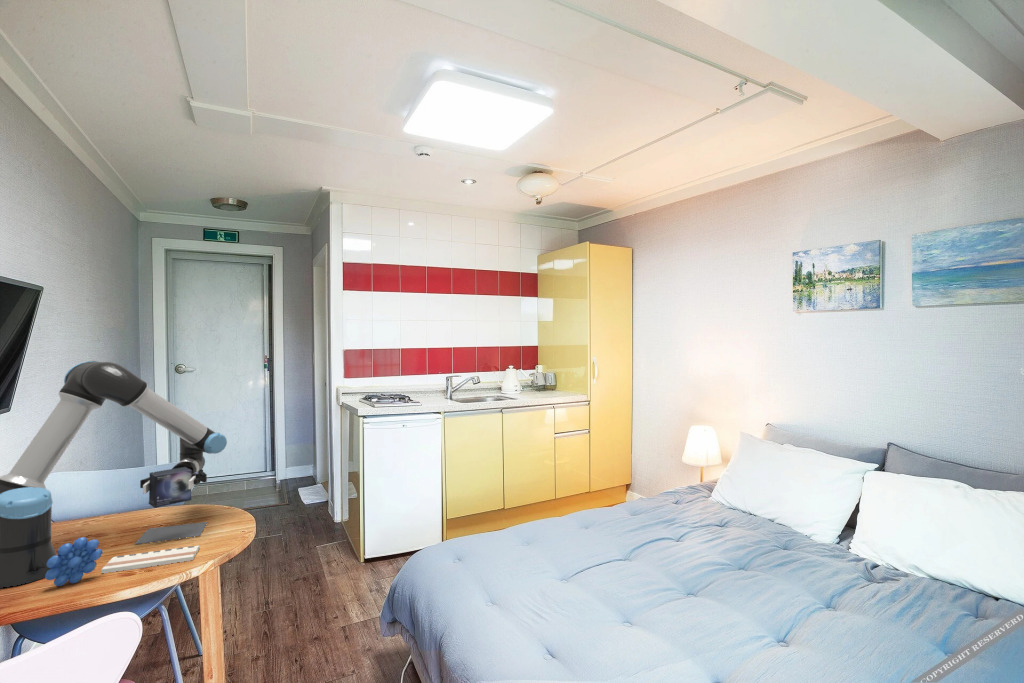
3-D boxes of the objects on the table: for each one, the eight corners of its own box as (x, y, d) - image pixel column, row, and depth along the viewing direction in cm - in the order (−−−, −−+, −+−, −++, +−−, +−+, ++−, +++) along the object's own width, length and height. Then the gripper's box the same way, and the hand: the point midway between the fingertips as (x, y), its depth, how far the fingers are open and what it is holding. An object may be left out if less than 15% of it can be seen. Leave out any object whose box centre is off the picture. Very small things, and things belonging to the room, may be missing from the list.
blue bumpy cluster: (99, 570, 139) (100, 528, 139) (103, 578, 134) (104, 534, 134) (43, 585, 130) (44, 540, 130) (45, 594, 126) (45, 547, 126)
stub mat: (134, 544, 157) (134, 543, 157) (148, 529, 170) (148, 528, 170) (199, 536, 164) (199, 535, 164) (207, 522, 177) (208, 521, 177)
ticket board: (101, 573, 137) (101, 568, 137) (113, 560, 145) (113, 556, 145) (192, 560, 145) (192, 555, 145) (199, 549, 154) (199, 544, 154)
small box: (154, 508, 155) (154, 475, 155) (148, 504, 159) (148, 472, 159) (192, 500, 163) (192, 469, 163) (185, 496, 167) (185, 466, 167)
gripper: (222, 478, 182) (210, 494, 162) (145, 485, 173) (122, 503, 153) (222, 458, 182) (210, 472, 162) (145, 464, 173) (122, 479, 153)
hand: (167, 487), depth 158 cm, fingers closed on small box, 12 cm apart
